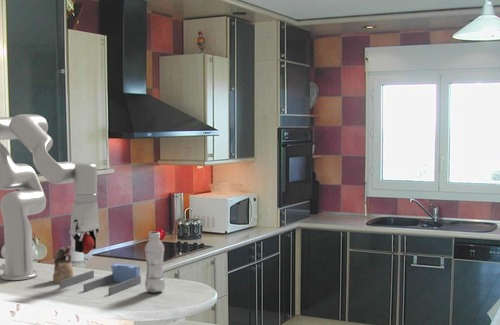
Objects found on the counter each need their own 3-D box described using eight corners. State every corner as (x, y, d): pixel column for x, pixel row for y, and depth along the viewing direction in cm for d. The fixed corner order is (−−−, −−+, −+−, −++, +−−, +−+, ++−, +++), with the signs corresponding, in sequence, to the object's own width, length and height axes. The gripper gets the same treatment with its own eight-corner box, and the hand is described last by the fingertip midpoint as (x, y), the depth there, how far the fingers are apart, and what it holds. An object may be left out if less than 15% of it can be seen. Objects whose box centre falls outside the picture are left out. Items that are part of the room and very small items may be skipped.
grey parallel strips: (59, 288, 207) (59, 281, 207) (92, 277, 223) (91, 270, 223) (110, 295, 199) (110, 287, 198) (140, 282, 214) (140, 275, 214)
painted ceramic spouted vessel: (60, 277, 223) (59, 245, 222) (77, 278, 221) (76, 246, 220) (49, 282, 216) (48, 248, 215) (66, 283, 214) (65, 249, 213)
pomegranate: (73, 253, 212) (73, 231, 212) (88, 251, 216) (88, 229, 216) (82, 256, 208) (82, 233, 207) (97, 254, 212) (97, 231, 211)
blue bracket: (109, 282, 215) (109, 265, 215) (115, 280, 218) (115, 263, 218) (134, 285, 211) (133, 268, 211) (139, 282, 214) (139, 266, 214)
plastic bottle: (141, 293, 200) (140, 233, 199) (152, 288, 206) (151, 230, 205) (158, 295, 198) (157, 234, 197) (168, 290, 204) (167, 231, 203)
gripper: (93, 195, 220) (92, 244, 221) (60, 200, 204) (59, 253, 206) (110, 197, 217) (109, 246, 218) (77, 202, 201) (77, 256, 203)
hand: (85, 249), depth 212 cm, fingers closed on pomegranate, 5 cm apart
